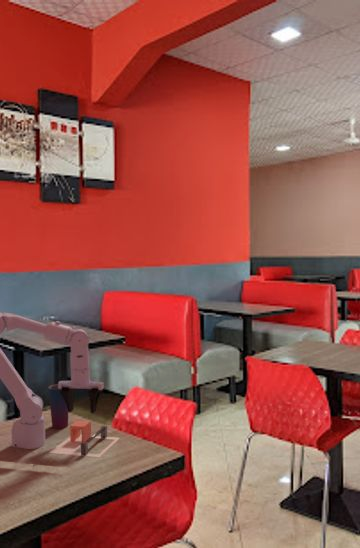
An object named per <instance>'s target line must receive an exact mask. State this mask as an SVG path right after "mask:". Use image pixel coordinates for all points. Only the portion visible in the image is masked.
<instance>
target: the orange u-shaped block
mask: <svg viewBox="0 0 360 548" xmlns="http://www.w3.org/2000/svg"><path fill="white" fill-rule="evenodd" d="M91 423H92V421H86V420H76V421H75V422H73V423H72V424H70V426H69V435H70V436H69V437H70V441H71V442H73V441H75V440H76V439H77V438H79V437H80V435H82V442H85V441H86V440H87V439H89V438H90V437H91V435H92V424H91Z"/></svg>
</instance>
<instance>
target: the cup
mask: <svg viewBox="0 0 360 548" xmlns="http://www.w3.org/2000/svg"><path fill="white" fill-rule="evenodd" d="M61 389H62V388H61ZM61 389H60V388H58V383H57V384H52V385H48V397H49V398H48V399H49V408H50V417H51V419H50V420H51V427H52V429H56V430H62V429H66V428H68V427H69V412H68V408H67V405H66V403H65V400H64V398H63V397H62V395H61V394H60V391H61Z"/></svg>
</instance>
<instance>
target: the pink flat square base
mask: <svg viewBox="0 0 360 548" xmlns="http://www.w3.org/2000/svg"><path fill="white" fill-rule="evenodd" d="M94 439H100V440H111V441H112V442H110V443H109V444H108V445H107V446H106V447H105V448H104V449H103V450H102V451H101V452H100V453H98V454H97V453H89V445H88V444H89V443H91V442H92V441H93V440H94ZM120 439H121V437H118V436H117V437H116V436H113V437H112V436H108V426H107V425H102V426H101V427H100V429H98V430H97V431H96V432H95V433H93V434H91V437H90V438H89V439H87V440H86V441H85V442H82V434H80V437H79V438H77V439H76V440H75V441H73V442H71V441H70V436H69V437H68V438H66V439H65V440H64V441H62V442H61V443H59V445H57V446H55V448H53V449H51V450H50V451H49V452H48V454H56V455H58V454H60V455H68V456H77V457H78V456H80V457H89V458H90V457H91V458H100V457H102V455H104V454H105V453H106V452H107V451H108V450H109V449H110V448H111V447H112V446H113V445H114V444H115V443H116V442H117V441H119V440H120ZM79 448H80V452H76V451H77V450H78V449H79Z"/></svg>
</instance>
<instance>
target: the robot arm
mask: <svg viewBox="0 0 360 548" xmlns="http://www.w3.org/2000/svg"><path fill="white" fill-rule="evenodd" d="M16 329H19V330H23V331H28V332H31V333H35V334H36V333H37V334H40V335H43V336H44V338H45V340H46V341H50V342H53V343H55V344H59V345H63V346H70V353H69V360H70V378H71V379H70V380H59V381H58V383H57V384H58V388H60V389H61V388H62V389H61V391H60V394H61V395H62V397H63V398H64V400H65V403H66V405H67V408H68V413H71V412H72V411H73V410H74V391H75V389H79V390H80V389H82V390H89V391H88V392H87V393H88V397H89V405H90V406H89V407H90V413H91V414H94V413H95V412H96V411H97V406H98V402H99V401H98V400H99V399H100V396H101V394H102V392H103V389H104V388H105V385H104V384H105V383H104V382H103V381H95V380H91V376H90V375H91V374H90V353H89V343H90V339H89V336H88V333H87V332H86V331H85V330H84V329H83V328H81V327H77V328H76V326H74V325H72V326H69V325H65V324H61V322H60V321H59V320H56V321H55V322H54V321H51V322H49V323H47V324H46V323H42V322H40V321H38V320H33V319H30V318H28V317H24V316H21V315H19V314H18V315H17V314H15V313H11V312H10V313H9V312H2V311H0V339H1V337H2V334H3V332H4V330H6V332H8V331H12V330H16ZM0 380H1V382H2V384H3V385H4V386H5V387H6V389H7V391H8V392H9V393H10V394H11V396H12V397H13V398H14V402H15V405H16V407H17V409H18V410H19V416H20V419H16V420H15V421H14V422H13V424H12V426H11V447H12V448H20V449H26V450H34V449H39V448H42V447H43V446H45V445H46V422H45V420H46V419H45V416H44V415H43V408H44V401H43V399H42V398H41V397H40V396H39V395H37V394H36V393H34V392H33V390H32V389H31V388H29V387H28V386H27V384H26V383H25V381H24V380H23V378H22V377H21V375H20V374H19V372H18V371H17V370H16V369H15V367H14V365H13V364H12V363H11V361H10V360H9V358H8V357H7V355H6V354H5V353H4V351H3V350H2V347H0Z"/></svg>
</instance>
